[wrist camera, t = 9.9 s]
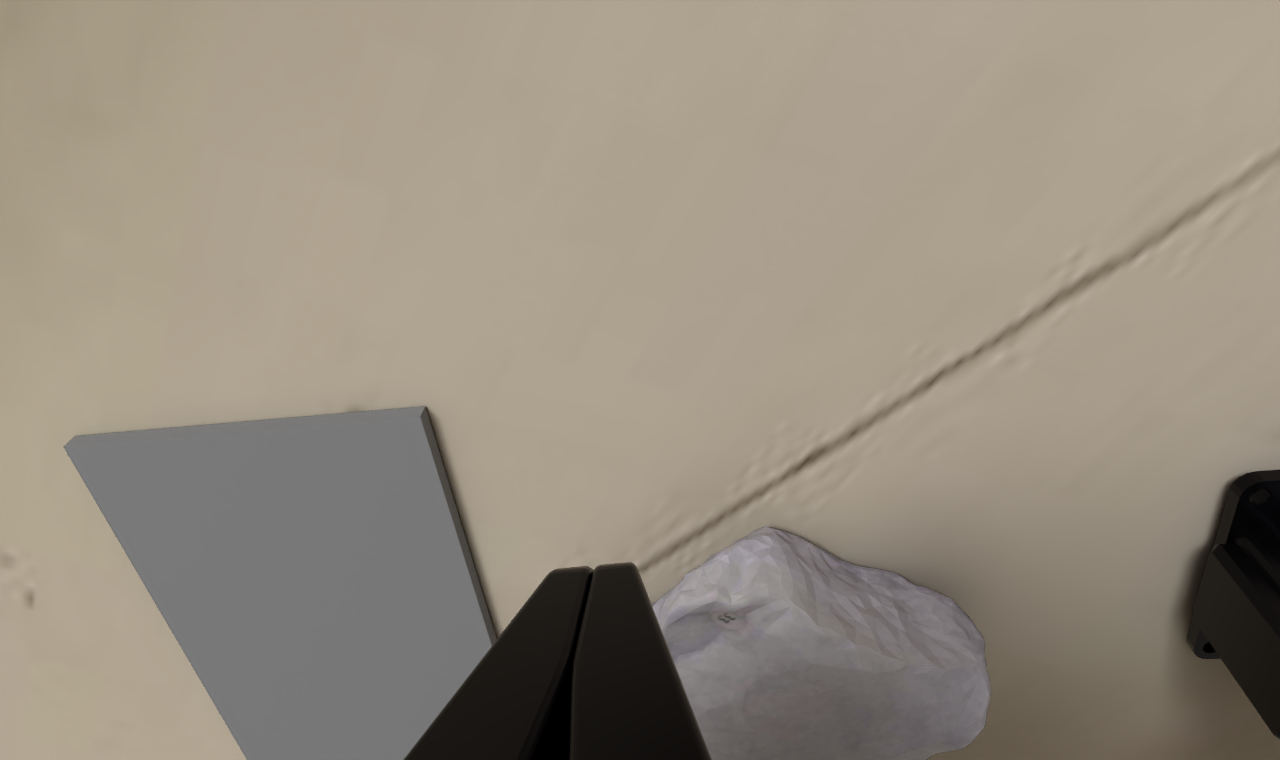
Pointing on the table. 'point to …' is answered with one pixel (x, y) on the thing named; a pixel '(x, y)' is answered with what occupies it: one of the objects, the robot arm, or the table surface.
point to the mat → (302, 572)
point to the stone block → (821, 657)
